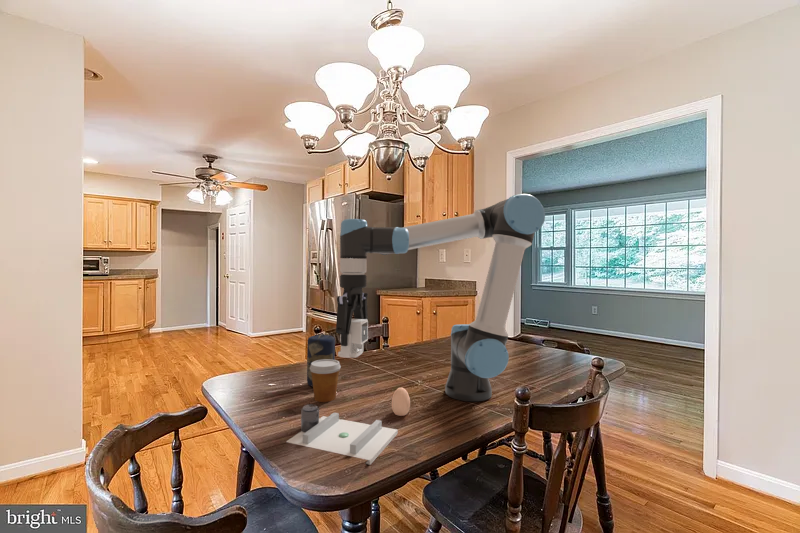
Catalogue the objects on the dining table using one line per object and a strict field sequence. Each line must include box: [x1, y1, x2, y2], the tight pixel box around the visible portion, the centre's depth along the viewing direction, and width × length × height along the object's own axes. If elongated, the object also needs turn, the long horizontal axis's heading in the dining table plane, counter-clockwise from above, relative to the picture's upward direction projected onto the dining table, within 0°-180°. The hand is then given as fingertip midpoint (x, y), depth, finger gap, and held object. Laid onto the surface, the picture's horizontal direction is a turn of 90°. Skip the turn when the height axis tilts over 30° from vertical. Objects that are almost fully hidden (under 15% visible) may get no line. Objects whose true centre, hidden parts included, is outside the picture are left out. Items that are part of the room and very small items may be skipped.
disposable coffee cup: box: [310, 359, 342, 403], centre depth 118 cm, size 10×10×12 cm
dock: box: [285, 412, 399, 466], centre depth 93 cm, size 22×16×3 cm
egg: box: [391, 387, 411, 417], centre depth 106 cm, size 5×5×8 cm
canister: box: [306, 333, 336, 387], centre depth 133 cm, size 10×10×18 cm
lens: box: [300, 403, 320, 433], centre depth 96 cm, size 4×4×6 cm
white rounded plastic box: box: [337, 318, 369, 359], centre depth 108 cm, size 6×7×10 cm
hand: (352, 354), depth 108 cm, fingers closed on white rounded plastic box, 7 cm apart
